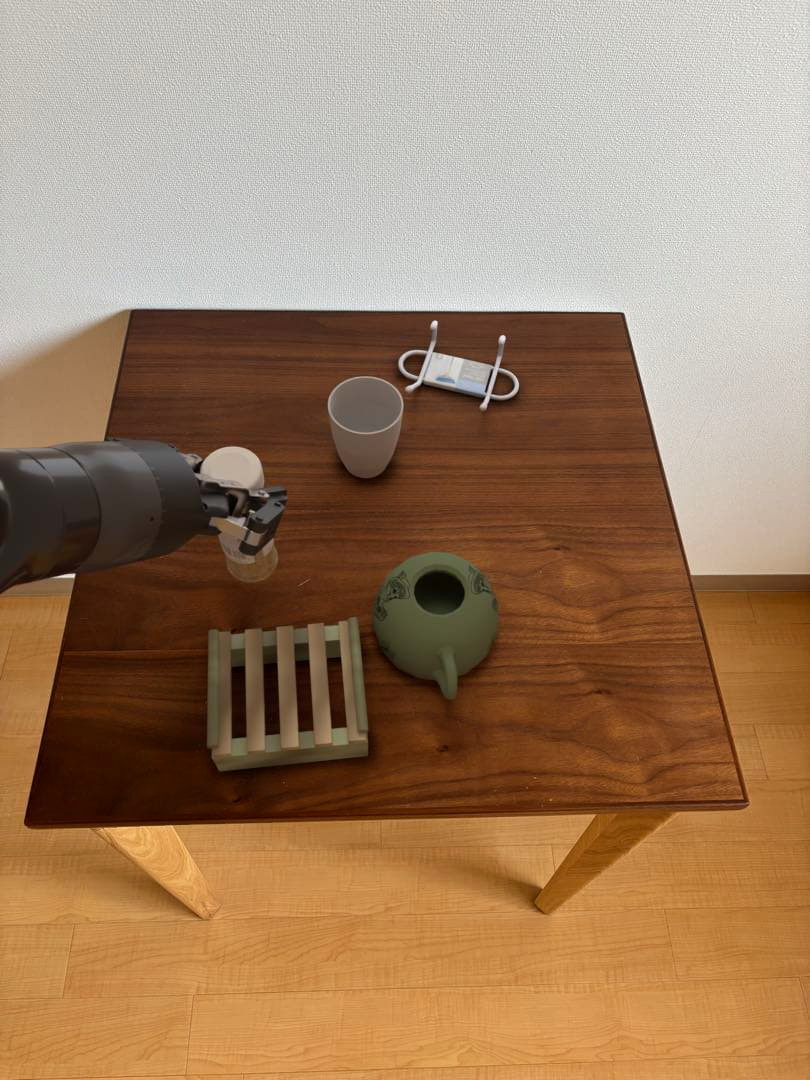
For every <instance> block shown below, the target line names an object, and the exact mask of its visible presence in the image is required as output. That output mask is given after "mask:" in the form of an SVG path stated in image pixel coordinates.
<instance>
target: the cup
mask: <svg viewBox="0 0 810 1080" xmlns="http://www.w3.org/2000/svg"><path fill="white" fill-rule="evenodd" d="M327 410H328V418H329V424H330V430H331V436H332V439H333V442H334V445H335V447H336V448H335V449H336V451H337V453H338V456H339V459H340V460H341V462H342V463H343V466H344V467H345V468H346V471H348V472H349V473H350V474H352V475H353V476H355V477H357V478H360V479H371V478H375V477H377V476H379V475H381V474H382V473H383V472H384V471H385V469H386V468H387V466H388V464H389V463H390V461H391V460H392V458H393V456H394V453H395V450H396V448H397V447H396V446H397V443H398V440H399V437H400V432H401V427H402V419H403V415H404V413H403V412H404V400H403V396H402V394H401V392H400V391H399V390H398V389H397V388H396V387H395V386H394V385H393V384H392V383H390V382H389V381H387V380H386V379H385V380H384V379H382V378H379V377H375V376H368V375H367V376H365V375H364V376H363V375H362V376H356V377H352V378H351V377H350V378H349V379H345V380H344V381H342V382H341V383H339V384H338V385H337V386H336V387H334V389H333V390H332V391H331V393H330V394H329V397H328V399H327Z"/></svg>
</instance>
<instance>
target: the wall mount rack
mask: <svg viewBox="0 0 810 1080" xmlns="http://www.w3.org/2000/svg"><path fill="white" fill-rule="evenodd" d="M438 324H439V323H438V320H433V321H431V324H430V325H429V328H430V331H432V335H431V341H430V343H429V347H428V350H422V349H414V350H412V349H411V350H409V351H406V352H405V353H403V354H402V355H401V356H400V357H399V359H398V363H397V364H398V369H399V372H400V373H401V375H403V376H404V377H406V378H407V379H410V380H412V381H415V382H414V383H413V384H411V385H407V386H406V387H405V388H404V392H405V393H407V394H411V393H412V392H413V391H414V390H415V389H417V388H418V387H420V386H421V385H422V383H423V385H426V386H431V387H435V388H438V389H439V388H440V389H442V390H447V391H452V392H456V393H460V394H463V395H468V396H473V397H477V398H481V399H483V398H484V400H483V402H482V403H481V404H480V405H479V410H480V411H481V412H485V411H486V410H487V408H488V404H489V402H490V399H491V400H496V401H507V400H509V399H512V398H514V397H515V395H517V394H518V392H519V389H520V382H519V380H518V378H517V377H516V376H515V374H513V373H512V372H511V371H510V370H508V369H507V370H506V369H504V368H500V364H501V362H502V357H503V353H504V347H505V342H506V340H507V338H506V336H505V335H500V336H499V338H498V341H497V342H498V343H497V344H498V345H499V346H498V352H497V356H496V360H495V364H494V366H493V365H492V364H487V363H484V362H479V361H474V360H470V359H466V358H462V357H457V356H453V355H448V354H444V353H439V352H436V351H435V352H434V349H435V346H436V343H437V336H438ZM416 355H419V356H425V359H424V361H423V363H422V366H421V370H420V372H419V375H418V376H417V375H414V374H411V373H409V372H407V370H406V369H405V367H404V362H405V360H406V359H407V358H409V357H410V356H416ZM491 372H492V374H491ZM498 373H500V374H502V375H505V376H508V377H509V378H510V379H511V380H512V381H513V384H514V388H513V389H512V391H511V392H510V393H508V394H505V395H497V394H493V393H492V392H493V389H494V385H495V383H496V379H497V375H498ZM490 375H491V377H490ZM489 378H490V380H489ZM488 383H489V384H488ZM487 385H488V387H487ZM486 389H487V391H486Z"/></svg>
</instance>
